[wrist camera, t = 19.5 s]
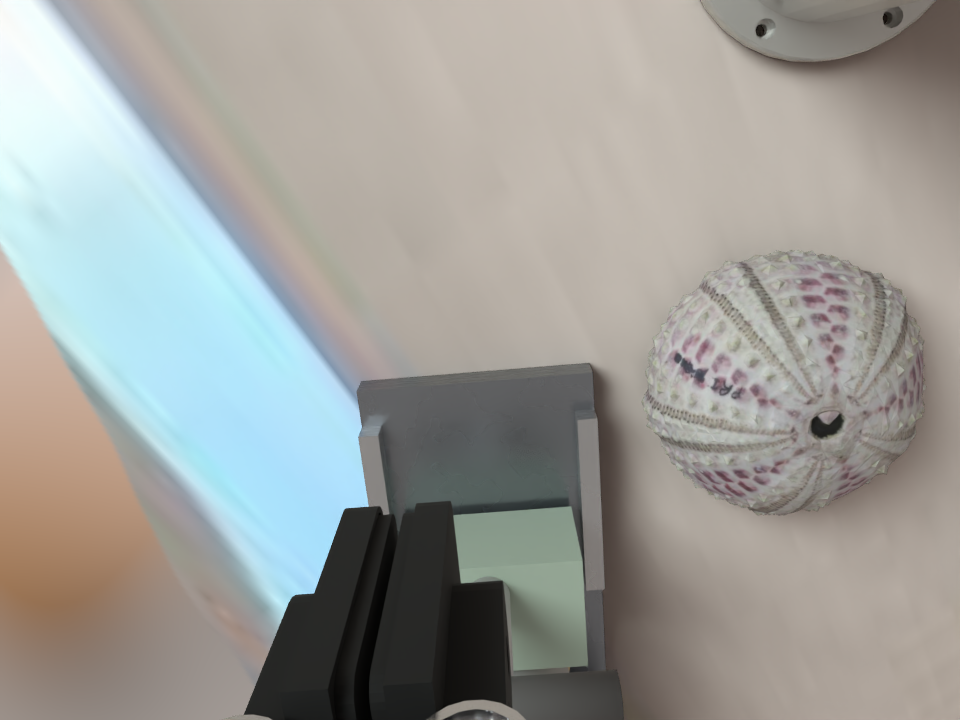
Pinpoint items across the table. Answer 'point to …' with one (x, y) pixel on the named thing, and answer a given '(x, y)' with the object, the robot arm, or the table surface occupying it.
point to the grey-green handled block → (540, 609)
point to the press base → (492, 454)
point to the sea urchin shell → (786, 381)
